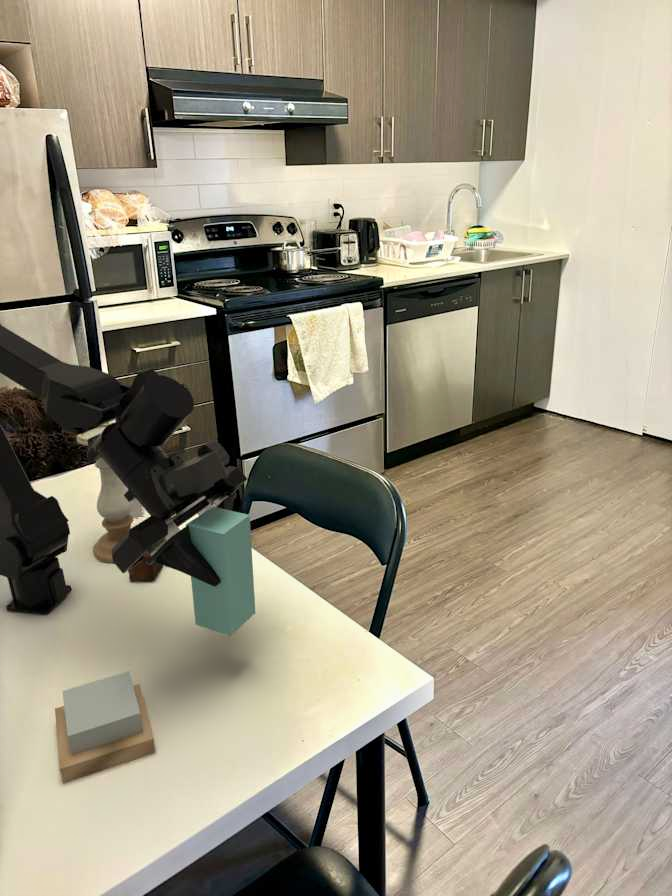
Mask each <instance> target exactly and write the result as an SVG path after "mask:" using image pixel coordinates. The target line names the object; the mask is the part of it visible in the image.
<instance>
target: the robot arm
mask: <svg viewBox="0 0 672 896" xmlns="http://www.w3.org/2000/svg"><path fill="white" fill-rule="evenodd" d="M0 374H2V375H3V376H5V377H6V378H8V379H9V380H11V381H12V382H14V383H16V384H18V386H20V387H22V388H24V389H26V390H27V391H29V392H31V394H33V395H35V396H36V397H37V398H38V399H39V400H40V401H41V404H42V406H43V410H44V412H45V414H46V416H48V417H49V418H51V419H52V420H53V421H54V422H55V423H56V424H57V425H59V426H60V427H61V428H62V429H63V430H65V431H66V432H67V433H70V434H72V435H76V436H77V435H79V434H83V433H85V432H87V431H90V430H92V429H94V428H97V427H99V426H101V425H104V424H108V423H112V424H110V425H108V426H107V427H106V428H105V429H104V430H103V432H102V433H101V434H98V435H96V436H94V437H91V438H89V439H88V440H87V441H88V446H87V451H86V461H87V462H88V463H90V464H92V463H94V462H96V461H97V460H98V459H100V458H102V459H103V460H104V461H105V462H106V463H107V465H108V466H109V467H110V468H111V469H112V470H113V472H114V473H115V474H116V475H117V476H118V478H119V479H120V480H121V481H122V482H123V484H124V485H125V486H126V487H127V488H128V491H127V492H126V493H125V494H124V497H125V498H126V499H127V500H128V501H129V502H130V501H132V500H134V499H137V500H138V501H139V503H140V504H141V505H142V508H143V509H144V510H145V511H146V512H147V513H148V515H150V516H148V517H147V518H146V519H144V520H142V521H140V522H139V523H138V524H136V525H135V526H133V527H130V528H131V529H130V530H129V531H128V532H127V533H126V534H125V535H124V536H123V537H122V539H121V540H120V541H119V542H118V543H117V544H116V545H115V546H114V547H113V548H112V549H111V550H112V558H113V562H114V563H113V564H114V565H115V566H116V567H117V568H118V569H119V571H120V572H121V573H122V574H126V573H127V572H128V570H130V569H131V568H132V567H134V566H135V565H137V564H138V563H139V562H141V561H142V560H143V554H144V553H145V552H146V551H147V550H148V552H149V553H150V555H151V557H150V558H149V559H148V560H147V561H146V563H147V564H149V565H150V564H152V563H158V564H160V565H163V567H166V568H170V569H172V570H175V571H178V572H181V573H183V574H185V575H187V576H189V577H191V576H192V577H194V578H196V579H198V580H200V581H203V582H205V583H207V584H209V585H212V586H214V587H215V586H217V585H218V584H219V583H220V582H221V580H220V578H219V577H218V575H217V574H216V572H215V571H214V569H213V568H212V567H211V566H210V564H209V563H208V562H207V561H206V559H205V558H204V557H203V556H202V554H201V553H200V552H199V551H198V549H197V548H196V547H195V546H194V545H193V543H192V541H191V536H190V531H189V526H188V525H187V526H186V525H185V526H184V527H183V528H181V529H180V528H179V527H180V526H182V525H183V524H185V523H186V522H188V521H189V520H190V519H192V518H193V517H195V516H196V515H198V516H200V515H201V514H203V513H204V512H206V511H207V510H209V509H210V508H212V507H217V508H222V509H226V510H230V511H233V507H234V500H235V499H236V498H237V490H238V489H240V488H241V487H242V485H244V484H245V483H246V482H247V481H248V478H247V477H246V475H245V474H244V473H243V472H242V470H240V468H239V467H238V466H231V465H229V464H230V454H229V453H228V452H227V451H226V448H224V447H223V446H222V445H221V443H219V442H218V441H217V440H216V439H212V440H210V441H207V442H205V443H203V444H202V445H200V446H198V447H197V456H194V457H192V458H190V459H188V460H186V461H185V460H184V459H183V458H182V456H180V455H179V454H177V453H172V454H171V455H167V454H166V453H165V451H164V450H163V449H162V448H161V446H162V445H164V444H166V443H167V442H168V441H169V440H170V438H171V437H172V436H173V435H174V434H175V432H177V430H178V429H179V428H180V427H181V426H182V424H183V423H184V422H185V421H186V420H187V418H189V416H190V415H191V414H192V413H193V410H194V409H195V407H194V406H195V403H194V398H193V395H192V393H191V392H190V391H189V389H188V387H187V386H185V384H182V383H181V382H178V381H177V380H176V379H174V378H172V377H169V376H166V375H162V374H158V373H157V371H156V370H155V369H154V368H152V367H150V368H147V369H143V370H141V371H138V373H137V374H136V375H135V377H134V378H133V381H132V384H131V385H129V384H126V383H123V382H120V381H119V380H118V379H117V378H115V377H114V376H113V375H111V374H109V373H106V372H104V371H101V370H99V369H96V368H93V367H91V366H88V365H87V366H85V365H78V364H77V365H76V364H69V363H67V362H65V361H62V360H60V359H58V358H57V357H55V356H53V355H52V354H50V353H48V352H47V351H45V350H43V349H42V348H40V347H39V346H37V345H35V344H33V343H32V342H31V341H28V340H27V339H25V338H24V337H21V335H18V334H17V333H15V332H13V331H12V330H11V329H8V328H7V327H5V326H3V325H2V324H1V323H0ZM115 420H117V421H116V422H113V421H115ZM227 465H228V466H227ZM225 466H226V467H225ZM68 522H69V519H68V517H66V515H65V514H64V512H63V510H62V508H61V506H60V503H59V500H58V499H57V498H56V497H55V496H53V495H51V496H49V497H46V496H45V495H43V494H41V493H39V492H38V491H36V490H35V489H34V487H33V485H32V484H31V482H30V480H29V478H28V476H27V474H26V472H25V470H24V468H23V466H22V464H21V462H20V460H19V458H18V456H17V454H16V453H15V450H14V447H13V446H12V445H11V443H10V440H9V439H8V436H7V435H6V432H5V431H4V429H3V427H2V425H1V424H0V576H2V577H4V578H7V582H8V586H9V589H10V594H11V599H12V600H11V601H10V602H9V603H8V604H6V605H5V609H6V611H9V612H19V613H21V612H22V613H27V614H29V613H30V614H39V615H47V614H49V613H50V612H51V611H52V610H53V609H54V608H55V607H56V606H57V605H58V604H59V603H61V601H62V600H63V599H64V598H65V597H66V596H67V595H68V594H69V593H70V592H71V590H72V586H71V585H68V584H67V583H66V578H65V574H64V569H63V568H61V566H60V562H59V558H58V556H60V555H62V554H64V553H66V552H67V551H68V543H69V535H71V531H70V527H69V523H68Z"/></svg>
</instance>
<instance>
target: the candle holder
mask: <svg viewBox="0 0 672 896" xmlns="http://www.w3.org/2000/svg"><path fill="white" fill-rule="evenodd" d="M112 423H113V422H108V423H106V424H104V425H101V426H99V427H97V428H94V429H92V430H90V431H87V432H85V433H83V434H79V435H76V440H77V443H78V444H80V445H82V446H86V447H88V441H87V440H88V439H89V438H91V437H94V436H96V435H98V434H101V433H102V432H103V430H104V429H105V428H106V427H107V426H108V425H110V424H112ZM94 466H95V467H96V468H97V469H98V470H99V473H100V485H101V486H100V491H99V493H98V497H97V501H96V510H97V512H98V514H99V515H100V516H101V517H102V518H103V519H102V521H101V525H102V528H104V529H105V530H106V533H104V534H102V536H100V538H99V539H98V540H97V541H96V542H95V543H94V545H93V546H92V553H93V557H95V559H97V560H99V561H100V562H103V563H110V564H114V562H113V558H112V550H111V549H112V548H113V547H114V546H115V545H116V544H117V543H118V542H119V541H120V540H121V539H122V537H123V536H124V535H125V534H126V533H127V532H128V531H129V530H130V529H131V528H132V524H133V522H134V519H133V517H132V516H131V515H130V514H129V513H130V512H131V510H132V508H133V501H130V502H129V501H128V500H127V499H126V498H125V497H124V494H125V493H126V492H127V490H126V489H125V487H124V486H123V484H122V482H121V480H120V479H119V478H118V476H117V475H116V474H115V473H114V472H113V470H112V469H111V468H110V467H109V466H108V465H107V463H106V462H105V461H104V460H103V459H102V458H100V459H98V460H96V461H95V463H94Z"/></svg>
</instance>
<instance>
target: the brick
mask: <svg viewBox="0 0 672 896" xmlns="http://www.w3.org/2000/svg"><path fill="white" fill-rule="evenodd" d="M150 557H151V555H150V553H149V552H148V550H147V551H146V552H145V553H144V554H143V560H142V561H141V562H139V563H138V564H137V565H135V566H134V567H132V568H131V569H130V570H128V571H127V572H128V577H129V581H130V582H131V583H132V582H133V583H153V582H155V580H156V579H157V577H158V574H159V573H160V572H161V571H162V569H163V567H164V566H163V565H160V564H158V563H152V564H150V565H149V564H147V563H146V561H147V560H148V559H149V558H150Z"/></svg>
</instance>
